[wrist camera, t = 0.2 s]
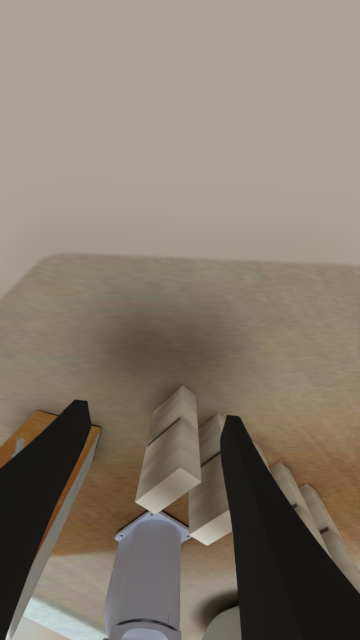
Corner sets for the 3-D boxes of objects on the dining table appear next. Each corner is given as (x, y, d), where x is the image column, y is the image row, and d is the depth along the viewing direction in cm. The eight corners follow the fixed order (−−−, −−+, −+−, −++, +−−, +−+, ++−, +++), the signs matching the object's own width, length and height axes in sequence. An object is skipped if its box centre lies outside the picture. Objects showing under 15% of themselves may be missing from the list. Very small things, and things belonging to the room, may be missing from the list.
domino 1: (166, 421, 24) (155, 514, 15) (153, 411, 24) (134, 501, 15) (195, 395, 23) (201, 482, 14) (182, 385, 22) (180, 467, 14)
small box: (102, 425, 24) (16, 602, 12) (93, 461, 26) (10, 645, 14) (35, 407, 24) (-127, 573, 11) (31, 445, 26) (-112, 622, 13)
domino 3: (259, 488, 27) (293, 597, 18) (249, 481, 27) (278, 589, 18) (289, 469, 26) (341, 577, 17) (279, 461, 25) (326, 567, 17)
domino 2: (200, 445, 25) (207, 545, 16) (188, 436, 25) (188, 534, 16) (229, 422, 24) (254, 518, 15) (217, 412, 23) (235, 505, 15)
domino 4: (285, 508, 28) (329, 619, 19) (276, 501, 28) (316, 611, 19) (316, 490, 27) (376, 602, 18) (306, 483, 26) (364, 593, 18)
